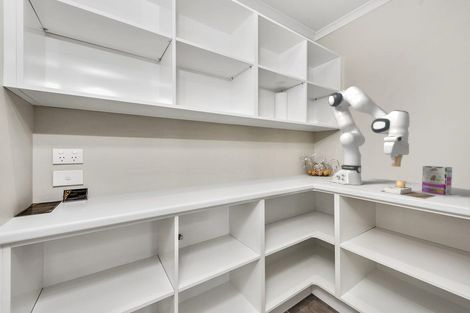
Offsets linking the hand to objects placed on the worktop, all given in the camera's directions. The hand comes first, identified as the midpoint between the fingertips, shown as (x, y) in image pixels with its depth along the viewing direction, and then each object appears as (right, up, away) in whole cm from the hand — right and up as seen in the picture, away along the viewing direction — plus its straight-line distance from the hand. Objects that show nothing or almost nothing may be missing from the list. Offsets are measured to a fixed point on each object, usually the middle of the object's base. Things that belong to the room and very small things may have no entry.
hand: (396, 162), depth 110 cm
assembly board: (+5, -18, -1) cm, 19 cm away
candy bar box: (+24, -19, +1) cm, 30 cm away
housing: (+3, -17, +2) cm, 18 cm away
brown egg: (0, -2, 0) cm, 2 cm away
